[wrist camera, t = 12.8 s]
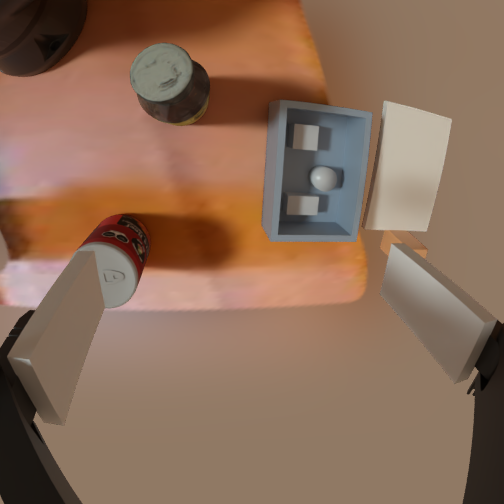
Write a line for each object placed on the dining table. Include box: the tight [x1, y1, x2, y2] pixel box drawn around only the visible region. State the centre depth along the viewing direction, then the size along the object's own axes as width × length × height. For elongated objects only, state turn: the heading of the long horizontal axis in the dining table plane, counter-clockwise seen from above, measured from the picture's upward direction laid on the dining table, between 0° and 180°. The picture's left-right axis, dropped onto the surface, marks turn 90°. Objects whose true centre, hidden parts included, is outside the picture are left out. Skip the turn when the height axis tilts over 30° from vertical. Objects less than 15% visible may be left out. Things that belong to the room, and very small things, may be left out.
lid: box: [362, 101, 452, 259], centre depth 39 cm, size 22×12×8 cm, turn 177°
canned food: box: [70, 215, 151, 308], centre depth 36 cm, size 8×8×11 cm
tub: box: [262, 100, 372, 242], centre depth 38 cm, size 16×11×6 cm
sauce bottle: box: [130, 43, 210, 126], centre depth 26 cm, size 7×6×20 cm
